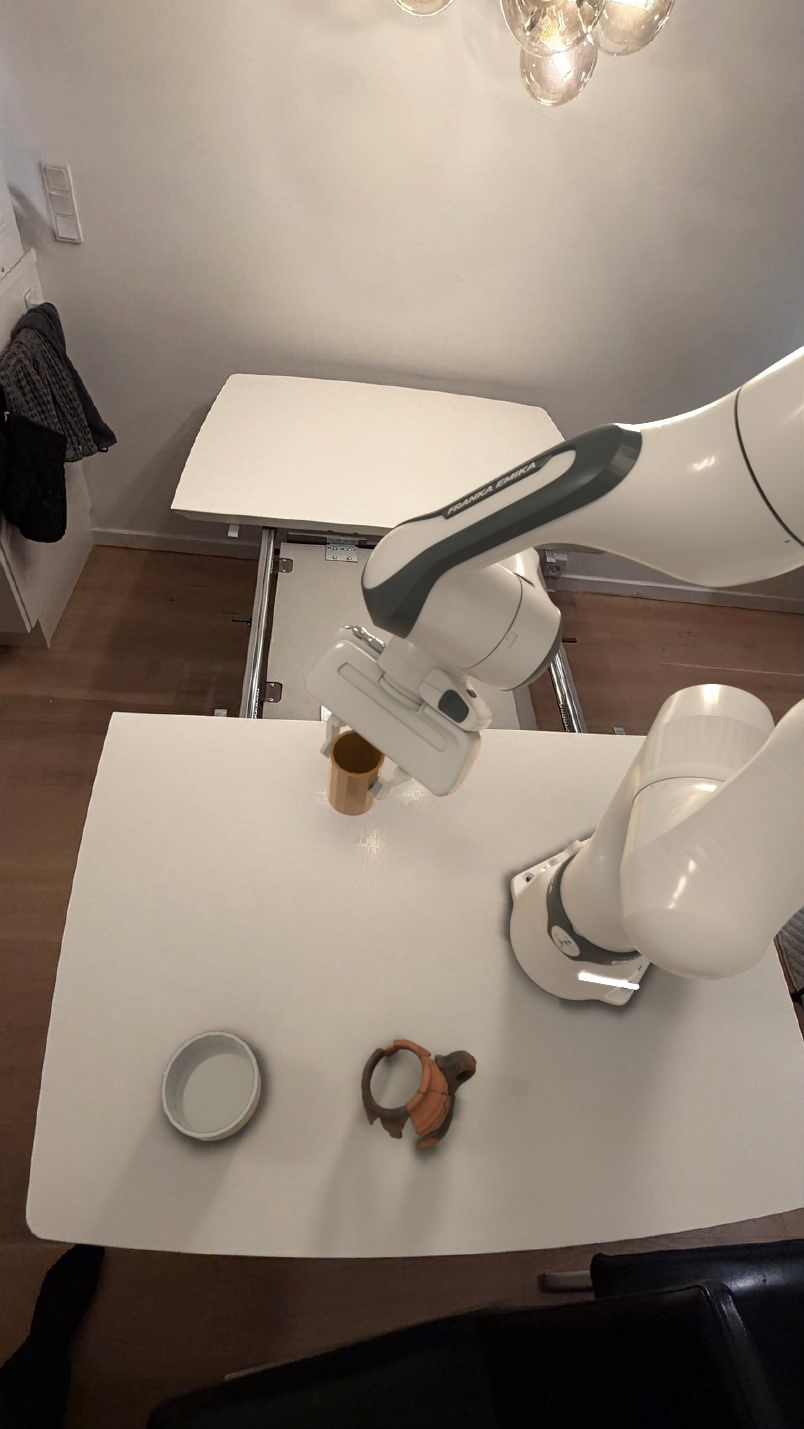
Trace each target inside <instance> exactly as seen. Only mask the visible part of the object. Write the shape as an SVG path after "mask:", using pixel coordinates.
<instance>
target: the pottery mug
mask: <svg viewBox="0 0 804 1429" xmlns="http://www.w3.org/2000/svg"><path fill="white" fill-rule="evenodd" d="M401 1050H402V1051H403V1050H405V1051H409V1052H411V1053H412V1054H414V1055H415V1056H416V1057H417V1058H418V1060H419V1061H420V1064H421V1068H422V1069H421V1070H422V1074H421V1080H420V1085H419V1087H418V1089H417V1091H416V1093H415V1094H414V1096H413V1097H412V1098H411V1099H410V1100H409V1101H407V1102H406V1103H405V1104H404V1105H402V1106H399V1107H394V1108H388V1107H384V1106H381V1105H379V1104H378V1103H377V1102H376V1101H375V1099H374V1097H373V1094H372V1090H371V1082H372V1077H373V1074H374V1071H375V1069H376V1067H377V1066H378V1064H379V1063H380V1062H381V1060H382V1059H383V1058H384V1057H386V1058H391V1057H393V1056H394V1055H396V1054H397V1053H398V1052H399V1051H401ZM431 1056H432V1052H431V1051H429V1049H426V1048H425V1047H423V1046H421V1045H419V1044H417V1043H416V1042H414V1041H412V1040H409V1039H406V1038H405V1039H404V1038H403V1039H402V1038H401V1039H394V1040H393V1042H392V1044H390V1045H388V1046H387V1047H385V1048H381V1047H378V1048H376V1049H375V1050H374V1051H373V1053H372V1054H371V1055H370V1056H369V1058H368V1060H367V1061H366V1063H365V1065H364V1067H363V1071H362V1075H361V1078H362V1079H361V1082H360V1083H361V1084H360V1089H361V1100H362V1103H363V1107H364V1111H365V1115H366V1118H367V1121H368V1123H369V1126H372V1125H374V1122H375V1121H376V1120H377V1119H379V1122H380V1125H381V1126H382V1128H383V1129H384V1130H385V1131H386V1132H387V1133H388V1135H389V1136H390V1138H392V1139H398V1140H401V1139H403V1130H404V1128H405V1125H406V1123H407V1121H408V1120H409V1118H410V1120H411V1123H412V1125H413V1128H414V1131H415V1135H418V1136H423V1137H424V1136H426V1135H427V1134H428V1135H429V1136H428V1137H427V1138H424V1139H422V1140H419V1141H417V1142H416V1145H415V1146H416V1148H417V1149H418V1150H422V1151H425V1150H428V1149H430V1148H432V1147H434V1146H436V1145H437V1144H438V1143H439V1142H440V1141H441V1140H442V1139H443V1138H444V1137H445V1136H446V1134H447V1133H448V1132H449V1129H450V1128H451V1125H452V1122H453V1119H454V1108H455V1104H456V1103H455V1102H456V1093H457V1091H458V1089H460V1087H461V1086H462V1085H463V1084H464V1083H466V1082H468V1081H469V1080H470V1079H471V1078H472V1077H474V1076H475V1074H476V1071H477V1059H476V1058H475V1057H474V1055H472V1054H471V1053H470V1052H468V1051H467V1050H463V1049H461V1050H459V1049H458V1050H456V1051H455V1050H454V1051H452V1052H450V1053H448V1054H445V1055H442V1054H436V1055H434V1058H433V1059H432V1058H431Z"/></svg>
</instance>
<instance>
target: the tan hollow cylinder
mask: <svg viewBox="0 0 804 1429" xmlns="http://www.w3.org/2000/svg"><path fill="white" fill-rule="evenodd" d="M385 758H386V756H385V755H384V754H383V753H382V752H380V751H379V750H378V749H376V748H375V747H374V746H373V745H371V744H370V743H369V742H368V741H366V740H365V739H364V738H363V737H361V736H360V735H359V734H358V733H356V732H355V731H354V730H353V729H349V730H345V731H343V732H341V733H340V735H338V736H337V737H336V738H335V739H334V741H333V742H332V744H331V747H330V752H329V759H328V765H327V766H328V768H327V782H326V784H327V785H326V797H327V800H328V802H329V804H330V806H331V807H332V808H333V809H334V810H335V811H336V812H338V813H340V814H341V815H344V816H350V817H356V816H360V815H363V814H366V813H367V812H369V811H370V810H371V809H372V808H373V807H374V806H375V803H376V801H377V799H376V798H374V797H373V796H372V795H371V794H370V793H369V790H370V788H373V784H374V783H375V781H376V780H378V779H379V780H380V779H382V774H383V769H384V764H385Z"/></svg>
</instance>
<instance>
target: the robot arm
mask: <svg viewBox="0 0 804 1429" xmlns="http://www.w3.org/2000/svg"><path fill="white" fill-rule="evenodd" d="M547 544H568V545H569V544H570V545H577V546H581V547H582V546H583V547H588V548H592V549H596V550H600V551H603V552H606V553H610V554H612V555H616V556H618V557H621V558H625V559H628V560H629V561H633V562H635V563H638V564H640V565H643V566H645V567H648V568H650V569H652V570H655V571H658V572H660V573H661V574H664V575H667V576H669V577H671V578H674V579H677V580H678V581H679V580H680V581H682V582H685V583H689V584H694V585H699V586H703V587H704V586H705V587H709V588H711V587H712V588H728V587H734V586H741V585H747V584H751V583H756V582H761V581H764V580H768V579H771V578H775V577H778V576H780V575H783V574H786V573H788V572H791V571H793V570H796V569H798V568H800V567H802V566H804V346H802V347H800V348H798V349H797V350H795V351H794V352H792V353H791V354H789V355H787V356H785V357H784V358H782V359H780V360H779V361H777V362H775V363H774V364H773V365H770V366H769V367H767V369H765V370H764V371H762V372H760V373H758V374H757V375H756V376H754V377H753V378H751V379H749V380H748V381H746V382H745V383H744V384H742V385H741V386H739V387H738V388H736V389H734V390H733V391H732V392H730V393H728V394H726V395H724V396H723V397H720V398H719V399H716V400H715V401H712V402H711V403H709V404H706V405H704V406H702V407H699V408H697V409H694V410H691V411H687V412H685V413H682V414H679V415H676V416H672V417H669V418H665V419H661V420H656V421H651V422H646V423H637V424H629V423H628V424H627V423H614V422H610V423H603V424H600V425H597V426H596V425H595V426H593V427H591V428H587V429H586V430H583V431H582V432H579V433H577V434H575V435H573V436H570V437H569V438H566V439H565V440H563V441H561V442H558V443H557V444H555V445H553V446H551V447H550V448H547V449H546V450H544V451H542V452H540V453H538V454H537V455H535V456H533V457H531V458H529V459H527V460H526V461H524V462H522V463H520V464H518V465H517V466H514V467H513V468H511V469H509V470H508V471H506V472H504V473H502V474H500V475H498V476H497V477H494V478H493V479H492V480H490V481H488V482H486V483H484V484H482V485H480V486H479V487H477V488H476V489H474V490H472V491H470V492H468V493H467V494H464V495H463V496H461V497H459V498H458V499H456V500H454V501H452V502H451V503H449V504H447V505H444V506H443V507H441V508H438V509H436V510H433V511H430V512H428V513H424V514H421V515H417V516H414V517H411V518H409V519H406V520H404V521H402V522H400V523H398V524H396V525H395V526H394V527H392V528H391V529H390V530H388V531H387V533H386V534H385V535H384V536H383V537H382V538H381V539H380V540H379V542H378V543H377V544H376V546H375V547H374V549H373V550H372V552H371V553H370V554H369V557H368V558H367V560H366V562H365V565H364V567H363V569H362V573H361V576H360V587H361V593H362V597H363V601H364V604H365V607H366V610H367V613H368V615H369V617H370V619H371V623H372V624H373V626H375V627H376V628H378V629H381V630H383V631H385V632H388V633H390V634H391V635H392V636H391V637H390V639H389V640H388V642H387V643H385V642H383V641H382V640H380V639H379V638H378V637H376V636H374V635H372V634H371V633H369V632H368V631H367V630H366V629H365V628H364V627H362V626H361V625H359V624H356V625H352V624H347V625H343V626H341V627H340V628H339V629H337V631H336V633H335V634H334V636H333V637H332V639H331V641H330V642H329V648H328V649H327V650H326V651H325V652H324V653H323V654H322V655H321V657H320V658H319V659H318V660H317V662H315V664H314V666H313V667H312V668H311V669H310V671H309V673H308V674H307V675H306V676H305V679H304V691H305V693H306V694H308V696H309V697H311V698H313V699H314V700H315V701H316V702H317V703H318V704H320V705H321V706H322V707H324V708H325V709H326V710H327V711H329V712H330V715H329V717H328V718H327V720H326V728H325V730H326V731H325V741H324V743H323V744H322V746H321V748H320V749H319V753H320V754H321V755H322V756H324V757H325V758H326V759H327V760H329V752H330V747H331V744H332V742H333V741H334V739H335V738H336V737H337V736H338V735H340V734H341V733H340V732H341V728H346V727H349V728H350V730H354V731H355V732H356V733H358V734H359V735H360V736H361V737H363V738H364V739H365V740H366V741H368V742H369V743H370V744H371V745H373V746H374V747H375V748H376V749H378V750H379V751H380V752H382V753H383V754H384V755H385V757H386V758H388V759H389V760H390V761H391V762H392V763H394V764H395V765H397V766H396V768H395V769H394V771H393V775H394V777H395V778H392V779H391V780H388V781H387V780H386V779H384V777H383V778H382V777H381V779H380V780H379V779H378V780H376V781H375V783H374V784H373V788H370V790H369V793H370V794H371V795H372V796H373V797H374V798H376V801H378V802H381V801H384V799H386V797H387V796H388V794H389V793H390V792H391V791H392V789H393V788H395V787H397V786H400V785H401V784H404V783H407V782H408V781H410V780H411V779H412V778H413V779H414V780H415V781H416V782H418V783H419V784H420V785H421V786H423V787H424V788H425V789H427V791H429V792H430V793H432V794H433V795H434V796H436V797H438V798H441V797H448V796H451V795H453V794H454V793H456V792H457V791H459V789H460V787H461V786H462V784H463V783H464V782H465V780H466V778H467V776H468V775H469V773H470V771H471V769H472V768H473V765H474V764H475V763H476V762H475V761H476V760H477V757H478V755H479V753H480V750H481V746H482V738H481V734H480V732H481V731H483V730H486V728H488V727H489V726H490V724H491V723H492V721H493V719H494V715H493V713H492V711H491V709H490V708H489V706H488V705H487V703H485V701H484V700H483V699H482V698H481V696H480V695H479V693H478V692H477V691H476V689H475V687H474V686H473V685H472V684H471V682H470V681H469V679H468V678H469V677H472V678H473V679H475V680H477V681H479V682H481V683H483V684H484V685H486V686H489V687H491V688H494V689H498V690H500V691H503V692H511V691H516V690H519V689H522V688H524V687H527V686H528V685H530V684H532V683H534V682H535V681H536V680H538V679H539V678H540V677H541V676H542V675H543V674H545V672H546V671H547V670H548V669H549V668H550V666H551V665H552V663H553V662H554V660H555V658H556V656H557V655H558V653H559V650H560V648H561V645H562V640H563V639H562V638H563V633H564V632H563V631H564V630H563V629H564V627H563V618H562V614H561V611H560V609H559V607H558V606H556V605H555V604H554V603H553V601H552V600H551V599H550V597H549V595H548V594H547V592H546V591H545V589H544V587H543V586H542V584H541V581H540V578H539V576H538V570H539V566H540V556H539V554H538V551H537V550H536V549H535V548H534V547H537V546H542V545H547ZM527 879H528V880H529V881H527ZM510 893H511V898H512V910H511V916H510V921H509V939H510V943H511V944H510V945H511V947H512V950H513V953H514V955H515V958H516V960H517V962H518V964H519V965H520V967H521V969H522V970H523V972H524V973H525V974H526V975H527V977H529V979H530V980H531V981H532V982H533V983H534V984H536V985H537V986H538V987H539V988H541V989H542V990H544V991H545V992H547V993H549V994H551V995H553V996H555V997H558V998H561V999H565V1000H570V1001H587V1000H589V1001H590V1000H596V1001H597V1000H598V1001H601V1002H603V1003H606V1004H609V1005H612V1006H624V1005H625V1004H626V1003H627V1002H628V1001H629V1000H630V999H631V997H632V995H633V993H634V991H635V990H638V989H639V988H640V985H639V982H640V981H641V979H642V977H643V975H644V974H645V972H646V970H647V969H648V967H649V965H650V963H652V964H653V965H655V966H657V967H658V968H660V969H661V970H664V971H666V972H668V973H669V974H670V973H671V974H673V975H675V976H679V977H682V978H686V979H692V980H697V981H717V980H718V981H719V980H724V979H728V978H733V977H736V976H738V975H741V974H743V973H745V972H747V971H749V970H751V969H752V968H754V967H756V966H757V965H758V964H759V963H760V961H762V958H763V957H764V955H765V953H766V952H767V950H768V948H769V946H770V945H771V943H772V942H773V940H774V939H775V937H776V936H777V935H778V934H779V932H780V931H781V929H782V928H783V927H784V926H785V925H786V924H787V923H788V922H789V921H790V919H791V918H792V917H793V916H795V914H797V913H798V912H799V911H800V910H801V909H802V908H803V907H804V698H802V699H801V700H799V701H798V702H797V703H796V704H794V705H793V706H792V707H791V708H790V709H788V711H787V712H786V713H785V714H784V715H783V716H782V717H781V718H780V720H779V722H778V723H777V724H776V726H775V723H774V719H773V715H772V713H771V711H770V709H769V708H768V706H767V705H766V704H765V703H764V702H763V701H762V700H761V699H759V698H758V697H757V696H755V695H754V694H752V693H750V692H748V691H746V690H743V689H741V688H738V687H734V686H731V685H726V684H717V683H707V684H706V683H705V684H697V685H693V686H689V687H686V688H683V689H680V690H678V691H676V692H675V693H673V694H672V695H670V696H669V697H667V699H666V700H665V701H664V702H663V703H662V705H661V707H660V709H659V711H658V713H657V715H656V717H655V719H654V720H653V723H652V725H651V726H650V729H649V731H648V733H647V735H646V737H645V740H644V741H643V743H642V745H641V747H640V749H639V750H638V752H637V754H636V755H635V757H634V759H633V761H632V763H631V764H630V766H629V768H628V769H627V771H626V773H625V775H624V776H623V778H622V780H621V781H620V783H619V785H618V787H617V789H616V791H615V793H614V794H613V796H612V798H611V800H610V802H609V803H608V806H607V808H606V809H605V812H604V814H603V815H602V817H601V820H600V821H599V824H598V826H597V827H596V829H595V831H594V832H593V834H592V836H590V838H587V839H586V840H583V841H580V840H575V841H573V842H571V843H570V844H568V845H567V846H566V847H565V848H564V849H563V851H562V852H559V853H558V854H556V855H554V856H552V857H550V858H548V859H546V860H543V861H542V862H540V863H538V864H536V865H534V866H532V867H529V868H528V869H526V870H524V871H522V872H520V873H518V874H516V875H514V877H512V879H511V880H510Z"/></svg>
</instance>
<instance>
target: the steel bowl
mask: <svg viewBox="0 0 804 1429" xmlns="http://www.w3.org/2000/svg"><path fill="white" fill-rule="evenodd" d="M261 1076H262V1075H261V1071H260V1068H259V1064H258V1062H257V1059H256V1056H255V1054H254V1052H253V1051H252V1049H251V1048H250V1046H249V1045H248V1043H247V1042H245V1041H244V1040H242V1038H240V1037H239V1036H238V1035H236V1034H234V1033H230V1032H227V1031H224V1030H213V1031H206V1032H202V1033H200V1034H198V1035H197V1034H196V1035H195V1036H193V1037H191V1038H189V1040H187V1041H186V1042H185V1043H183V1044H181V1045H180V1046H179V1048H178V1049H177V1050H176V1051H175V1053H174V1054H173V1055H172V1057H171V1058H170V1059H169V1061H168V1064H167V1065H166V1068H165V1070H164V1072H163V1074H162V1078H161V1079H162V1080H161V1087H160V1098H161V1103H162V1109H163V1112H164V1114H165V1115H166V1117H167V1119H168V1121H169V1122H170V1124H171V1126H173V1127H175V1128H176V1129H177V1131H179V1132H181V1133H182V1134H183V1135H186V1136H188V1137H191V1138H195V1139H197V1140H201V1141H204V1142H209V1141H210V1142H211V1141H212V1142H213V1141H214V1142H215V1141H220V1140H224V1139H226V1138H229V1137H231V1136H232V1135H234V1134H236V1133H237V1132H239V1131H240V1130H241V1129H243V1127H244V1126H245V1125H246V1124H247V1123H248V1122H249V1121H250V1120H251V1118H252V1116H253V1115H254V1113H255V1111H256V1110H257V1106H258V1104H259V1101H260V1098H261V1091H262V1077H261Z"/></svg>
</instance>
